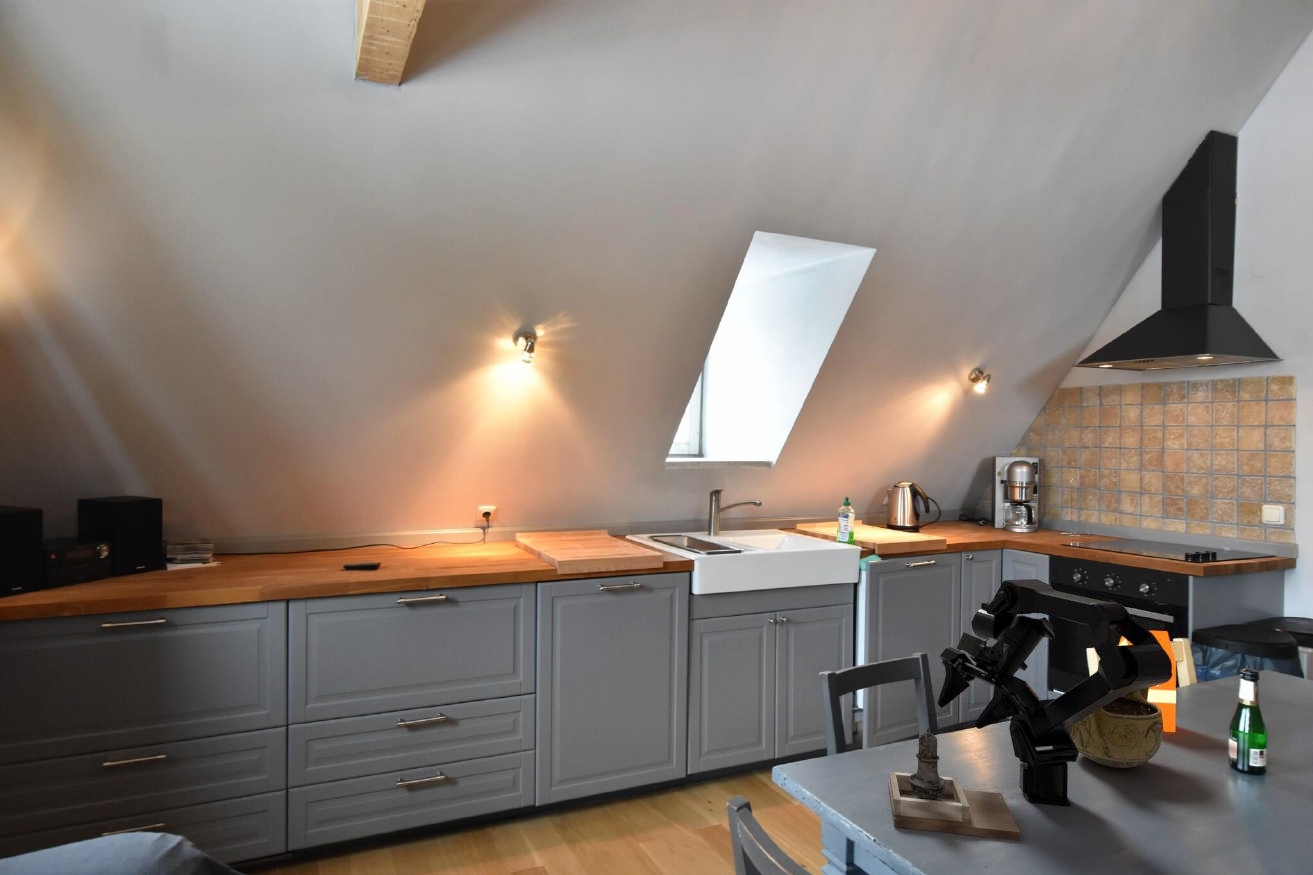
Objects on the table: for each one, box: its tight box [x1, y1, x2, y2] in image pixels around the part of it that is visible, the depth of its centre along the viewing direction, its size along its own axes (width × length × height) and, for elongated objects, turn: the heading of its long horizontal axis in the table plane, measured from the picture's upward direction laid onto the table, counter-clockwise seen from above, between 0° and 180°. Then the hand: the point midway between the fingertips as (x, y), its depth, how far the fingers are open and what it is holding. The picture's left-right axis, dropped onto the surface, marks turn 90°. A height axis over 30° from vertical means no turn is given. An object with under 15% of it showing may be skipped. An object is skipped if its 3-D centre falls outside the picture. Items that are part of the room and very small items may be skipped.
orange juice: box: [1118, 630, 1177, 733], centre depth 174 cm, size 8×9×20 cm
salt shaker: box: [908, 727, 947, 801], centre depth 132 cm, size 6×6×12 cm
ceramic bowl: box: [1070, 688, 1164, 769], centre depth 153 cm, size 22×17×15 cm
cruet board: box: [887, 771, 1021, 841], centre depth 131 cm, size 18×14×4 cm
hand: (957, 716), depth 140 cm, fingers open, 9 cm apart
